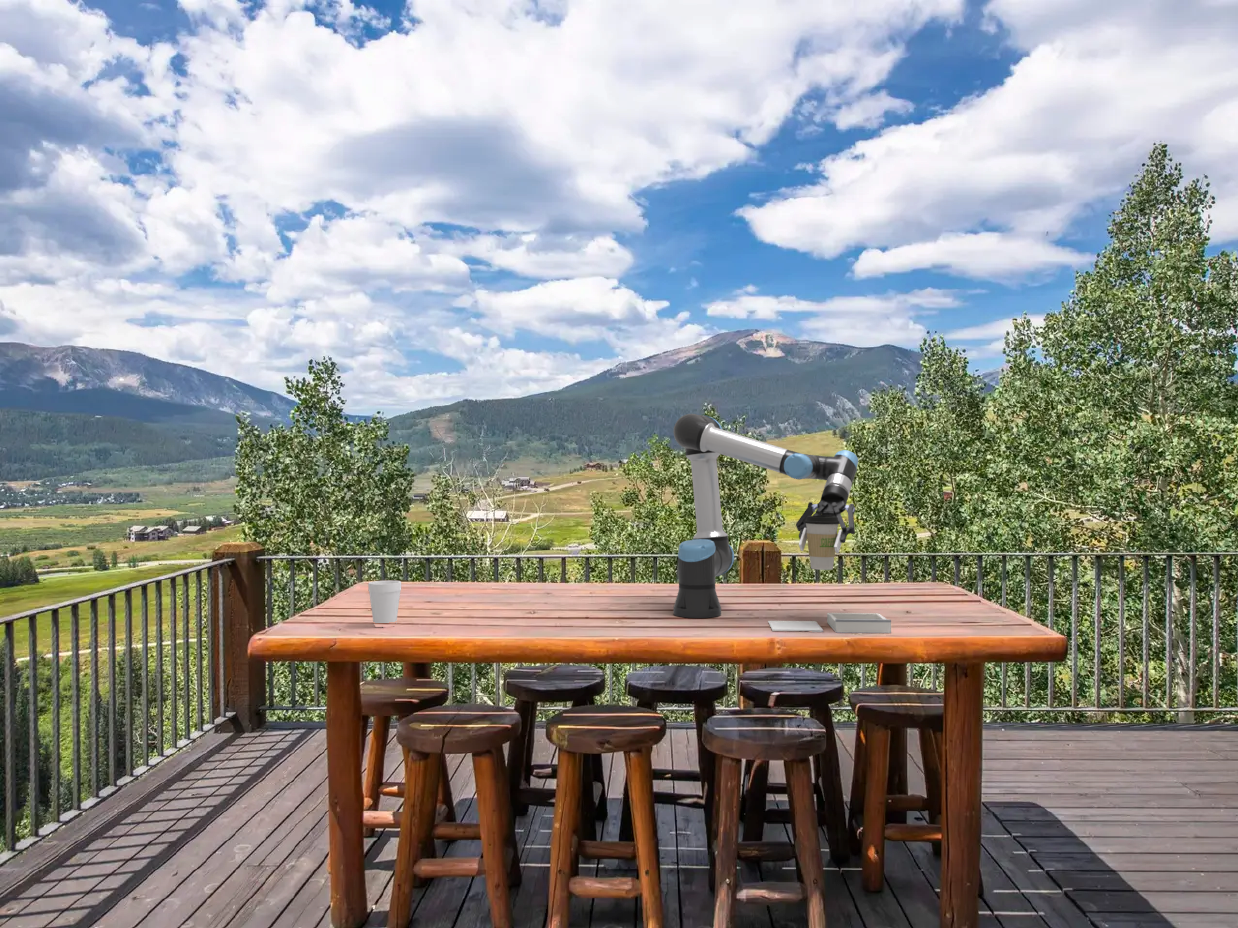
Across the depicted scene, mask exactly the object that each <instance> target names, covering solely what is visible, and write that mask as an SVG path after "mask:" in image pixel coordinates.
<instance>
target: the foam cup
mask: <svg viewBox="0 0 1238 928" xmlns="http://www.w3.org/2000/svg"><path fill="white" fill-rule="evenodd" d="M367 585H368V586H367V587H368V592H369V599H370V607H371V616H372V623H373V622H375V623H389V622H395V621H398V613H399V604H400V599H401V598H400V596H401V590H402V581H400V580H391V579H390V580H389V579H387V580H376V581H369V582H368V584H367Z"/></svg>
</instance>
